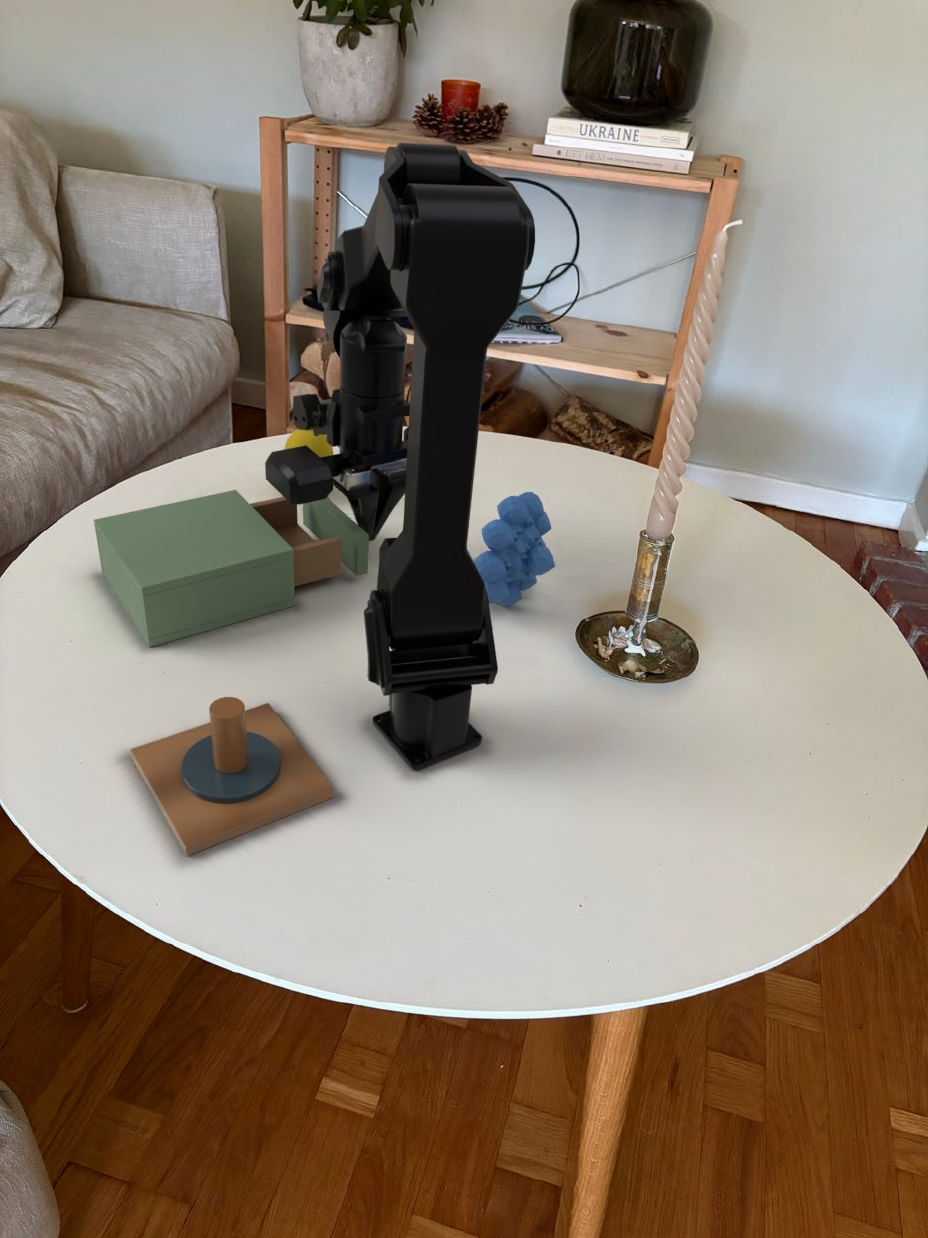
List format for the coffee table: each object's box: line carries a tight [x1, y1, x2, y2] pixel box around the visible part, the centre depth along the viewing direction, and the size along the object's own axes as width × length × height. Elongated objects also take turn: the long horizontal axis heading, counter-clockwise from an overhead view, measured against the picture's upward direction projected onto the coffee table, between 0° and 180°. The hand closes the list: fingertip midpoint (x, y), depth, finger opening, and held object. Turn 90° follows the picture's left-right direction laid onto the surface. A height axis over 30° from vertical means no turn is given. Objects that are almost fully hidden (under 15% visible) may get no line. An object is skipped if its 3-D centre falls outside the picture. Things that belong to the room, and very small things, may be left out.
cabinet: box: [93, 489, 296, 648], centre depth 87 cm, size 14×13×6 cm
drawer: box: [249, 496, 370, 588], centre depth 92 cm, size 14×11×4 cm
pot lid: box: [181, 696, 281, 803], centre depth 68 cm, size 7×7×6 cm
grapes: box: [473, 491, 556, 608], centre depth 88 cm, size 12×7×12 cm, turn 148°
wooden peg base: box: [129, 702, 335, 857], centre depth 70 cm, size 11×11×1 cm
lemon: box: [283, 429, 335, 457], centre depth 104 cm, size 6×6×8 cm
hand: (368, 539), depth 93 cm, fingers closed
